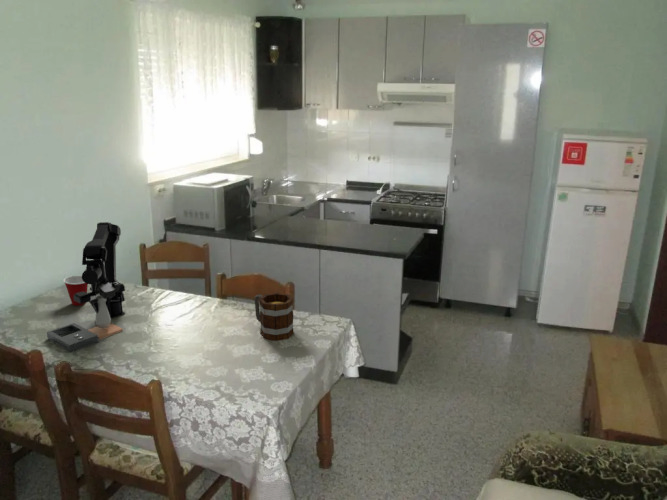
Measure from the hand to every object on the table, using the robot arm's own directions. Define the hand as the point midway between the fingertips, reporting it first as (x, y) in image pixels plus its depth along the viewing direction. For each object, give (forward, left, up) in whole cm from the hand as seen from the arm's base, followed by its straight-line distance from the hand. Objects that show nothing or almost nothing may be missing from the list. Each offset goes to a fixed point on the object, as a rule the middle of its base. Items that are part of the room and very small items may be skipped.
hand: (102, 312), depth 217 cm
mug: (-43, +52, -9) cm, 68 cm away
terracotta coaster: (0, 0, -8) cm, 8 cm away
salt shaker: (0, 0, -6) cm, 6 cm away
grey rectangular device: (+12, -2, -8) cm, 15 cm away
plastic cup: (-9, -37, -9) cm, 39 cm away
